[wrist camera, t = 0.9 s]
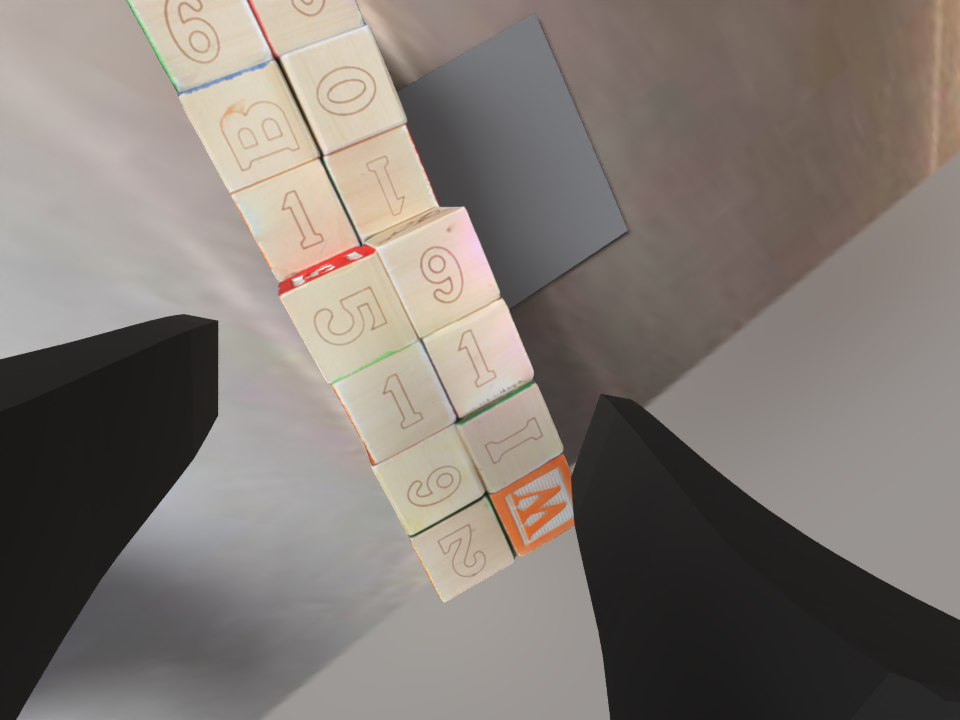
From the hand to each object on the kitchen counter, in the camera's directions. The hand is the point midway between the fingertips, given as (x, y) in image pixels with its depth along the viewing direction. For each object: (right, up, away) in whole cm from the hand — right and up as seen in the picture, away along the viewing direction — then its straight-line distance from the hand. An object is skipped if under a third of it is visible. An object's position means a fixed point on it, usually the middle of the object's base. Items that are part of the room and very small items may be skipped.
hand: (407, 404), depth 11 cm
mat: (+3, +10, +19) cm, 21 cm away
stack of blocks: (-5, +6, +17) cm, 19 cm away
